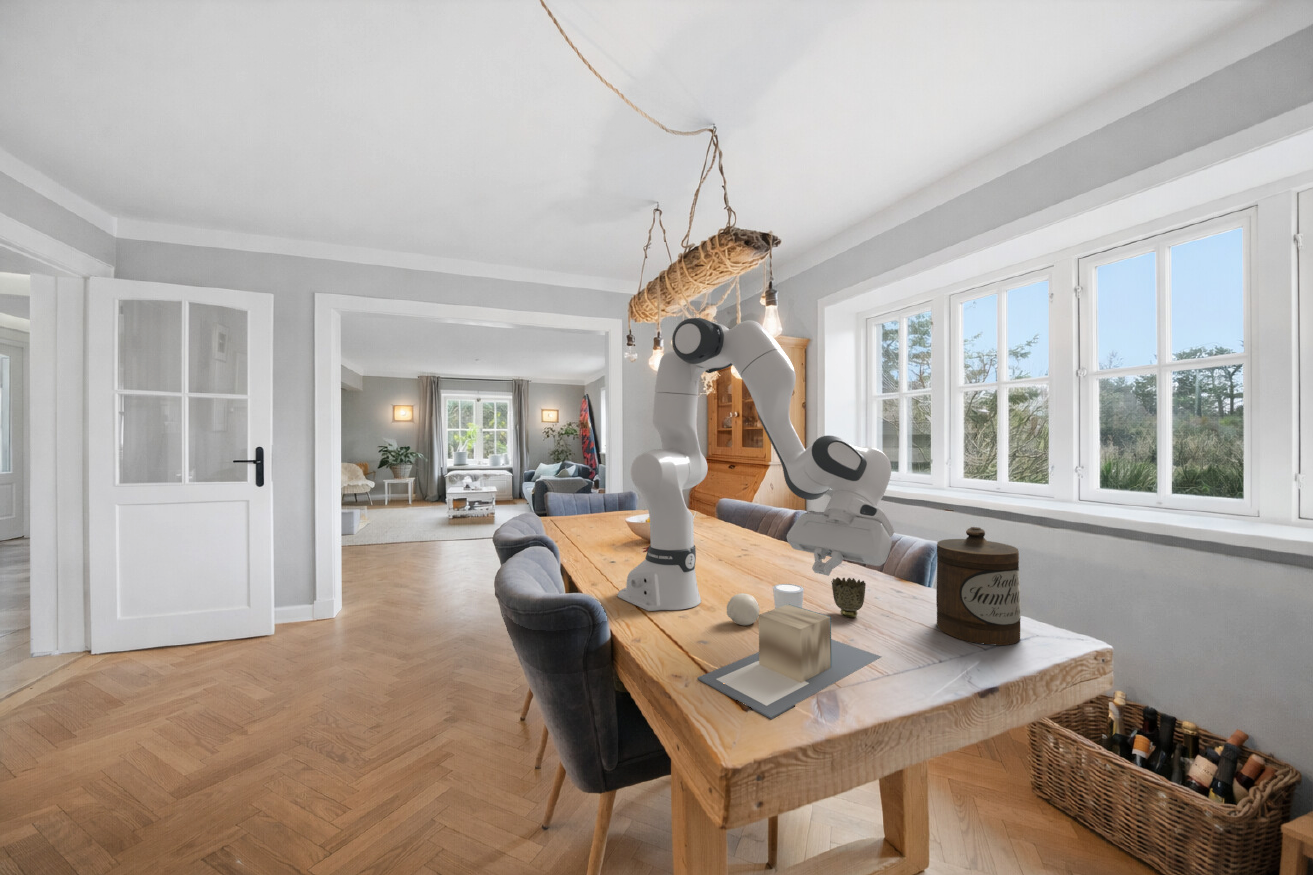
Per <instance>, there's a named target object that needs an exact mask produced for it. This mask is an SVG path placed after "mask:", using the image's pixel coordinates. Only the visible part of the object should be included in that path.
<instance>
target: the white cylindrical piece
mask: <svg viewBox="0 0 1313 875" xmlns="http://www.w3.org/2000/svg"><path fill="white" fill-rule="evenodd" d="M772 590H773V591H772V592H773V599H774V609H777V608H779V607H782V606H785V605H788V604H790V605H794V606H797V607H800V608H803V605H804V604H803V602H804V592H805V591H804V590H805V588H803V587H802V586H801V585H797V584H793V583H781V584H780V583H779V584H776V585H773V586H772Z"/></svg>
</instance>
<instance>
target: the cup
mask: <svg viewBox="0 0 1313 875" xmlns="http://www.w3.org/2000/svg"><path fill="white" fill-rule="evenodd" d="M830 583H831V588H832V589H831V590H832V595H833V596H832V597H833V600H834V603H835V605H836V606H837V607H838V609H840V615H841V616H842V617H845V618H849V619H852V618H856V617H857V616H858V611H859V610H860V609H862V607H863V605H864V603H865V595H866V584H867V583H866V582H865V580H862V581H861V580H860V579H858V580H856V579H855V578H853V577H852V578H851V577H848V578H847V579H846V578H845V577H842V579H841V578H840V577H839V576H837V577H836V578H834V577H833V578H832V580H831V582H830Z"/></svg>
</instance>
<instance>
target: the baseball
mask: <svg viewBox="0 0 1313 875" xmlns="http://www.w3.org/2000/svg"><path fill="white" fill-rule="evenodd" d="M759 614H760V606H759V603H758V601H757V600H756V598H755V597H754V596H753V595H751V594H749V593H742V592H741V593H737V594H735V595H733V596H732V597H731V598H730V599H729V601H728V603H727V605H726V615H727V617H728V618H730V620H732V621H733V622H734V623H735V624H737V625H740V626H750V625H752V624H754V623H755V622H756V621H757V620H758V619H759Z"/></svg>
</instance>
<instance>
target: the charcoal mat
mask: <svg viewBox="0 0 1313 875" xmlns="http://www.w3.org/2000/svg"><path fill="white" fill-rule="evenodd" d="M882 657H883V656H881V655H878V654H875V653H873V652H870V651H866V650H864V649H862V648H859V647H855V646H852V645H850V644H846V643H843V642H841V641H838V640H835V639H832V638H831V662H832V667H831V668H829V669H827V670H825V671H823V672H821V673H819V674H817V675H815V676H813V677H812V678H810V679H808V680H806V681H804V682H802V683H800V682H798V681H796V680H794V679H791V678H789V677H787V676H785V675H782V674H780V673H778V672H775V671H773V670H771V669H769V668H766V667H764V666H762V665H760V664H759V651H758V652H754V653H753V654H751V655H748V656H745V657H743V658H741V659H738V660H736V661H733V662H732V663H731V662H730V663H728V664H727V665H724V666H722V667H719V668H717V669H714V670H713V671H712V670H711V671H709V672H707V673H705V674H703V675H699V676H698V677H697V680H698V681H700V682H702V683H703V684H706V685H707V686H708V687H711V688H713V689H714V690H716V691H719V692H720V693H722V694H724V695H726V696H727V697H729V698H731V699H733V700H735V701H736V700H738V701H740V702H742V703H744V704H746V705H747V706H749V707H751V708H752V709H751V708H750V709H751V710H753V711H755V712H757V713H759V714H760V715H762V716H764V717H766V718H768V719H770V720H774V718H776V717H779V716H780V715H782V714H784V713H787V711H789V710H791V709H793V708H794V707H796V705H797V704H799V703H801V702H803V701H805V700H806V699H809V697H811V696H813V695H815V694H817V693H819V692H821V691H823V690H824V689H826V688H828V687H829V686H831V685H833V684H835V683H837V682H839V681H840V680H842V679H844V678H847V677H849V675H851V674H853V673H856V672H857V671H859V670H860V669H862V668H865V667H866V666H869V665H870V664H872V663H873V662H875V661H877V660H878V659H879V660H880V658H882ZM723 683H725V684H723ZM738 701H737V702H738ZM740 702H739V703H740ZM742 703H741V704H742ZM744 704H743V705H744ZM746 705H745V706H746ZM747 706H746V707H747ZM749 707H748V708H749Z"/></svg>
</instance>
